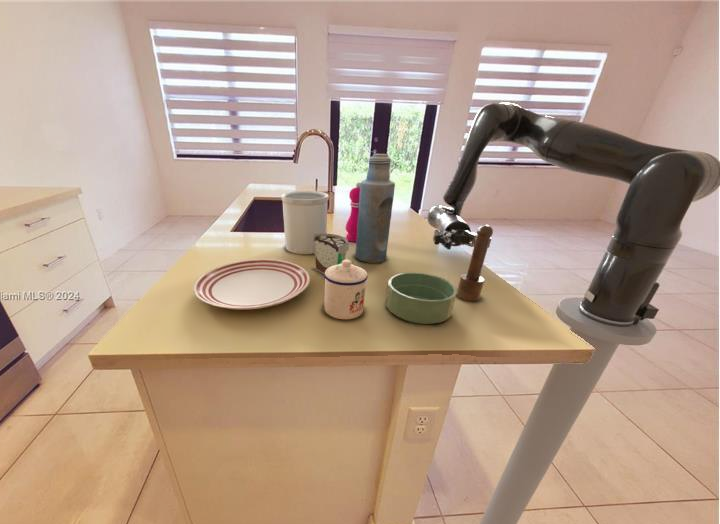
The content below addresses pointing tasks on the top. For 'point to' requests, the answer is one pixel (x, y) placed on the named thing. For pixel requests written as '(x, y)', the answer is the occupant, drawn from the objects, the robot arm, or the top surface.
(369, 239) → the bottle
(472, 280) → the wooden pestle
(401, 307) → the bowl
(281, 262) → the dinner plate
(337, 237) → the slice of cake
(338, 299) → the teacup with lid
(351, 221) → the pepper mill
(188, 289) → the top surface
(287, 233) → the utensil holder
